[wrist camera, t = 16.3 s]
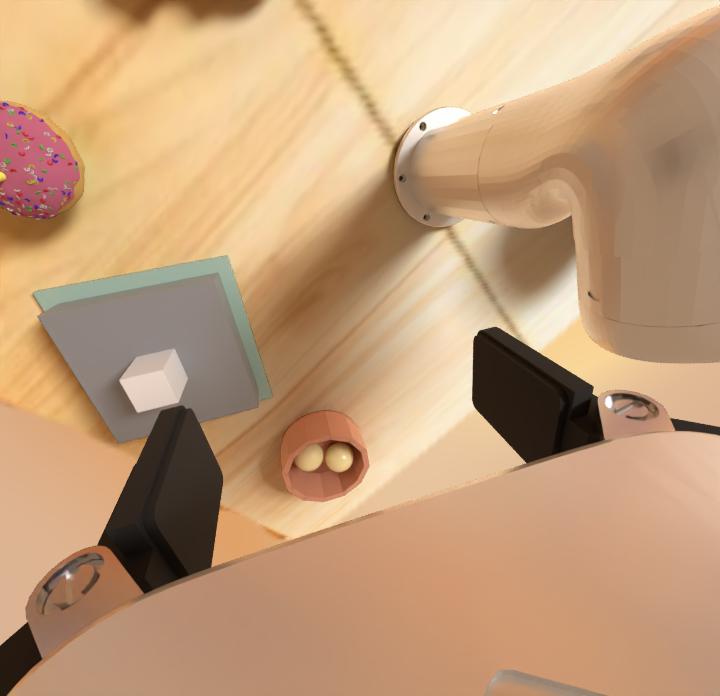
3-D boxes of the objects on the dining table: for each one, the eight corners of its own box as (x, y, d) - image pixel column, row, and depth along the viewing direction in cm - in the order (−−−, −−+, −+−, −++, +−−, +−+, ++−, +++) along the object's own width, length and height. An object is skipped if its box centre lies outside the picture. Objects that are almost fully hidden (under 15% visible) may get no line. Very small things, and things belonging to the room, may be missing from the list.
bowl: (352, 401, 52) (362, 425, 47) (363, 459, 58) (373, 486, 53) (272, 423, 50) (273, 450, 45) (291, 480, 56) (294, 511, 51)
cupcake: (101, 224, 35) (31, 242, 24) (-6, 196, 32) (-138, 203, 21) (105, 132, 32) (27, 107, 21) (-13, 92, 29) (-170, 40, 18)
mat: (227, 255, 39) (227, 256, 38) (272, 395, 48) (272, 397, 48) (35, 291, 36) (32, 292, 35) (123, 433, 45) (121, 436, 45)
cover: (218, 272, 39) (206, 294, 31) (259, 390, 47) (257, 432, 39) (58, 303, 36) (2, 336, 28) (130, 423, 44) (100, 475, 36)
